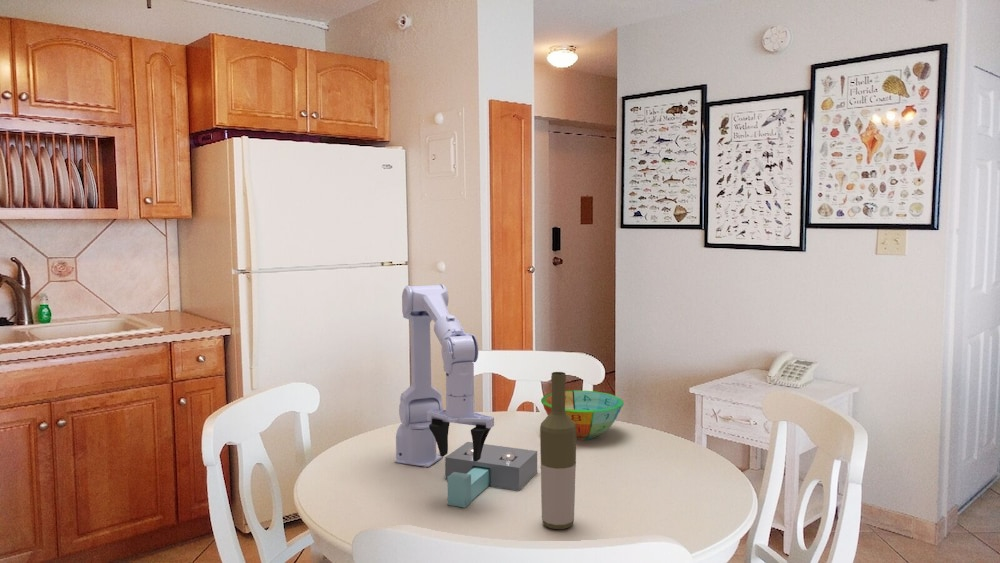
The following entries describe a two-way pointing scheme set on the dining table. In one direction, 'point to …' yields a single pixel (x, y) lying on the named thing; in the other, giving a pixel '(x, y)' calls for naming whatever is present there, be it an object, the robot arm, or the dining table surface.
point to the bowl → (588, 411)
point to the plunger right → (508, 456)
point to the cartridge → (467, 485)
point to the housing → (495, 465)
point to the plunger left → (469, 451)
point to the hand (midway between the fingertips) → (460, 457)
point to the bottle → (558, 460)
